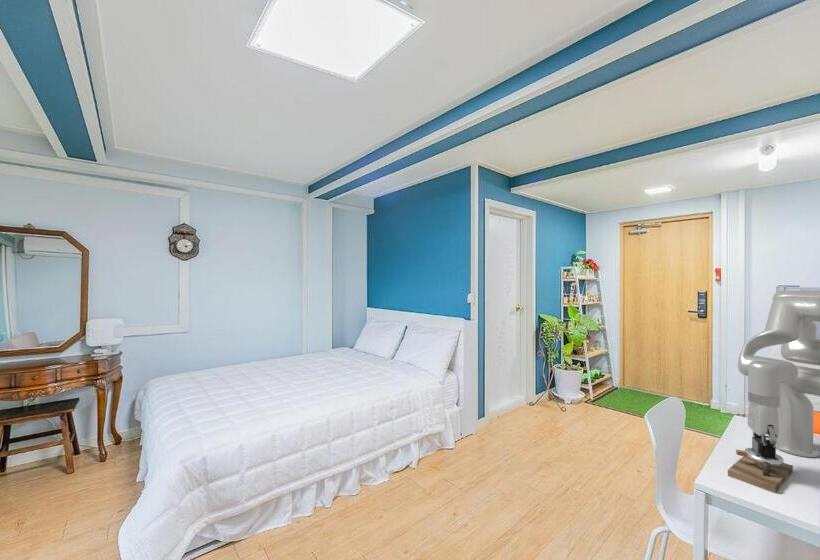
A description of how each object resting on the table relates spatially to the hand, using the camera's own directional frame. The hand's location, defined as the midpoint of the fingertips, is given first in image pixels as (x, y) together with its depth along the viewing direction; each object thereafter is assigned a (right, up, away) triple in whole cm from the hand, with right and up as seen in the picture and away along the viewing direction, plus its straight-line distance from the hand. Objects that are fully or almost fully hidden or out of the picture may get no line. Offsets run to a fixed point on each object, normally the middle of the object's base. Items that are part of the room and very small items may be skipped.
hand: (763, 452), depth 116 cm
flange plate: (-1, -2, +1) cm, 2 cm away
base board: (-1, -7, 0) cm, 7 cm away
